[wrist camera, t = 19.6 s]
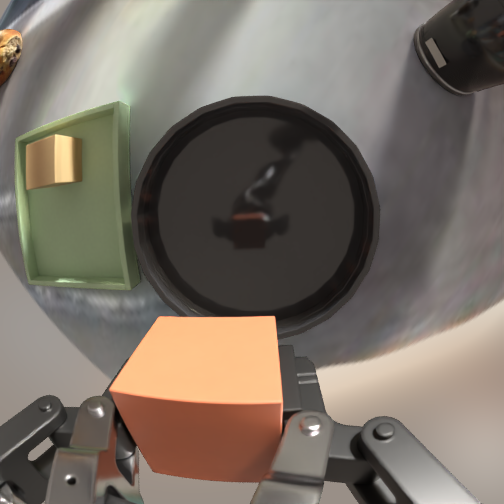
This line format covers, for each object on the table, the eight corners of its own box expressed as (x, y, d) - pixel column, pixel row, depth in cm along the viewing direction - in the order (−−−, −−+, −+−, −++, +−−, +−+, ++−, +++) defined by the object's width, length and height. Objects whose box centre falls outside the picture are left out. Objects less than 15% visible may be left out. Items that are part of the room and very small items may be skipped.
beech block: (82, 138, 22) (55, 134, 17) (82, 181, 23) (55, 183, 18) (52, 147, 22) (25, 145, 17) (53, 187, 23) (26, 190, 18)
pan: (363, 110, 21) (376, 103, 18) (357, 319, 26) (367, 334, 23) (142, 118, 22) (128, 111, 19) (159, 322, 26) (149, 337, 24)
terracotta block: (275, 315, 10) (283, 401, 5) (275, 400, 11) (278, 482, 7) (158, 315, 10) (107, 389, 6) (178, 397, 11) (152, 472, 7)
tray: (130, 106, 21) (119, 100, 19) (140, 282, 25) (131, 290, 23) (27, 139, 22) (15, 138, 20) (39, 278, 26) (28, 284, 24)
